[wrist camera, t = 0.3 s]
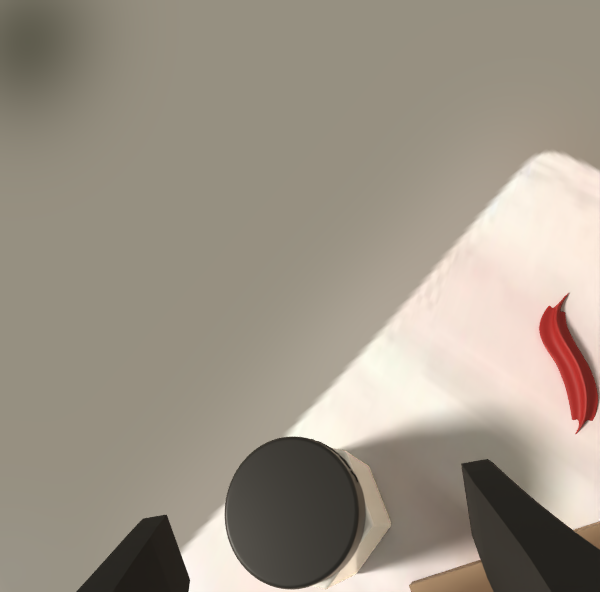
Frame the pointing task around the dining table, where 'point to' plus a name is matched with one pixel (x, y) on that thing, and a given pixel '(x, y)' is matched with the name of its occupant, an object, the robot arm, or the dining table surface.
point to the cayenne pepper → (569, 364)
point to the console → (481, 571)
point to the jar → (303, 514)
